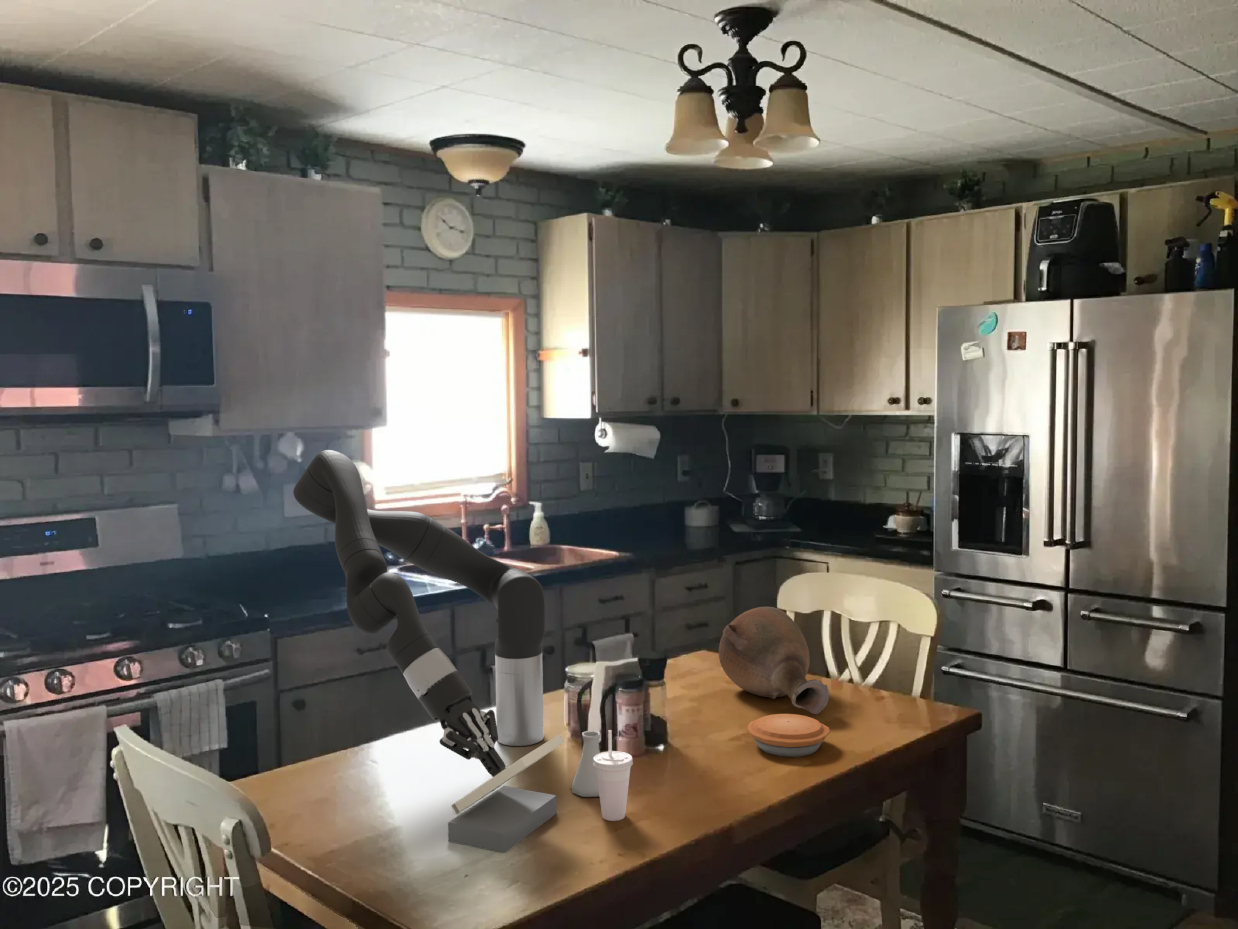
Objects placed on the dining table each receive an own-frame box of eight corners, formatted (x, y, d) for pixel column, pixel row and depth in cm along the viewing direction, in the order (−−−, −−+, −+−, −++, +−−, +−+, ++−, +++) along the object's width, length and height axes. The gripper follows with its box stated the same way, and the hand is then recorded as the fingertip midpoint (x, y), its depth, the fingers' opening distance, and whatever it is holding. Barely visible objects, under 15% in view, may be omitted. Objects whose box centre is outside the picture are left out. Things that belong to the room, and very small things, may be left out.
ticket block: (504, 803, 175) (503, 786, 175) (556, 813, 171) (556, 795, 171) (448, 841, 161) (447, 822, 161) (503, 853, 157) (503, 833, 157)
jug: (711, 683, 244) (772, 746, 217) (701, 607, 238) (762, 661, 211) (788, 658, 250) (857, 716, 223) (780, 583, 244) (850, 633, 217)
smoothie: (611, 805, 174) (610, 722, 173) (641, 814, 170) (640, 730, 169) (585, 817, 169) (584, 732, 168) (616, 828, 165) (615, 740, 164)
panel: (492, 779, 174) (560, 733, 167) (498, 787, 173) (565, 742, 167) (450, 806, 163) (520, 758, 157) (455, 815, 163) (526, 767, 156)
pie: (794, 767, 191) (794, 740, 190) (730, 746, 202) (730, 721, 202) (846, 747, 201) (846, 722, 200) (782, 728, 212) (782, 704, 212)
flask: (564, 786, 183) (563, 730, 182) (603, 780, 186) (602, 724, 185) (580, 801, 176) (579, 743, 175) (619, 794, 179) (618, 736, 178)
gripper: (447, 686, 176) (508, 771, 172) (397, 708, 164) (461, 801, 160) (474, 660, 173) (536, 746, 169) (425, 681, 161) (491, 774, 157)
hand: (500, 773), depth 165 cm, fingers closed
